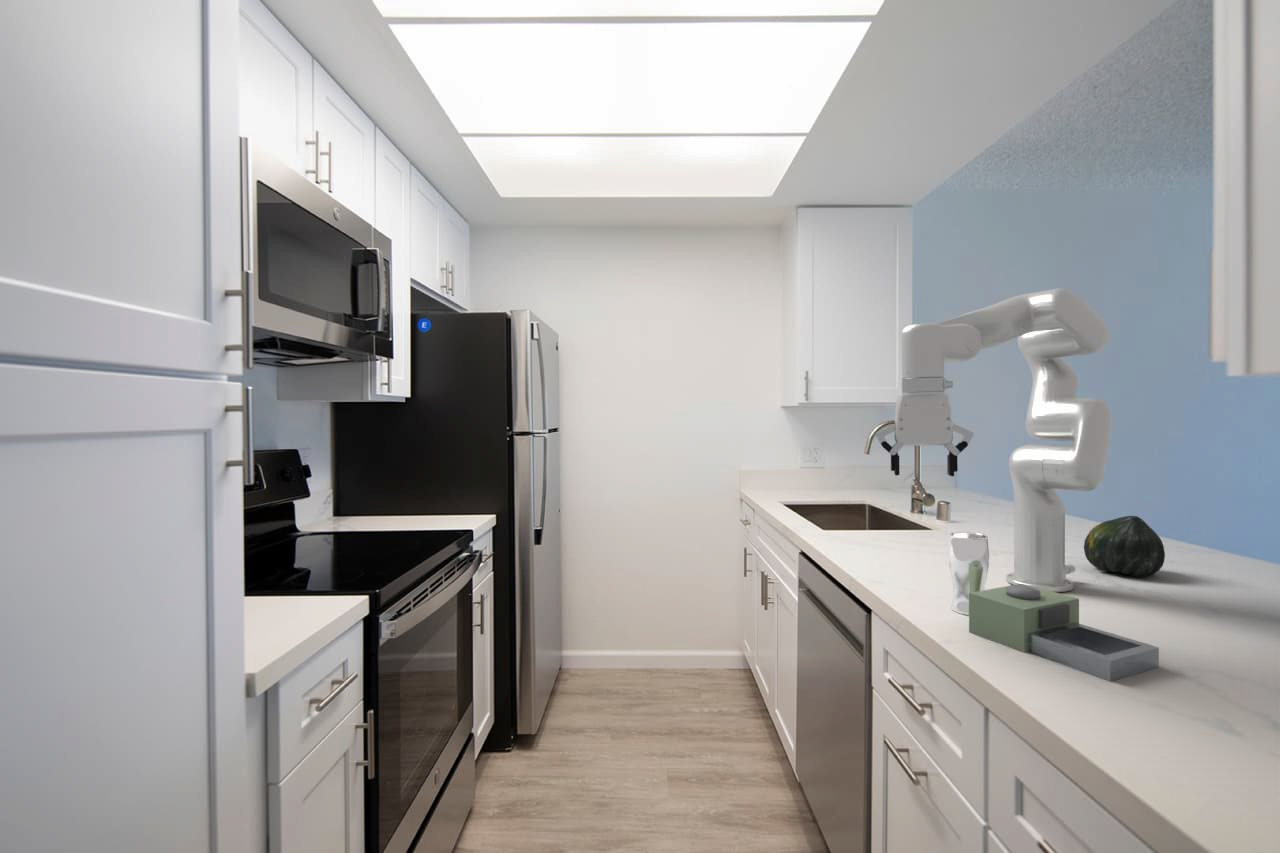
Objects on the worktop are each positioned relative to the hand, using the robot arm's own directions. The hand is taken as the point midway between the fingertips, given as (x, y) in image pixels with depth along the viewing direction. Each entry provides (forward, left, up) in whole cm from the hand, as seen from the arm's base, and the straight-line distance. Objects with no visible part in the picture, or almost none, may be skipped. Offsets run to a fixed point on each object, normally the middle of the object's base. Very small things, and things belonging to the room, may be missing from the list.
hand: (923, 475), depth 116 cm
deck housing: (-5, +16, -27) cm, 32 cm away
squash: (-66, -1, -27) cm, 72 cm away
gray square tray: (-5, +27, -27) cm, 39 cm away
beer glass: (-8, +3, -27) cm, 29 cm away
